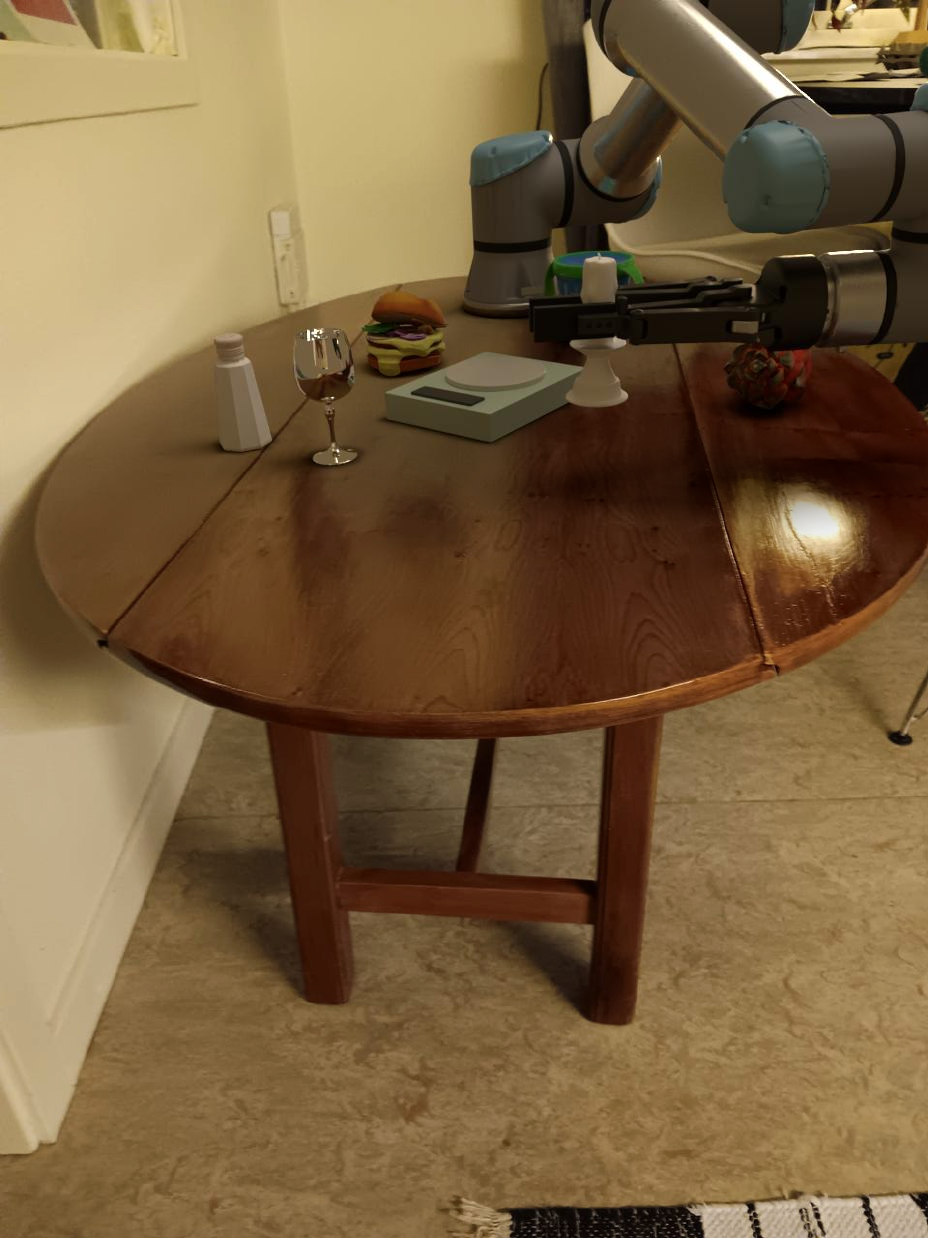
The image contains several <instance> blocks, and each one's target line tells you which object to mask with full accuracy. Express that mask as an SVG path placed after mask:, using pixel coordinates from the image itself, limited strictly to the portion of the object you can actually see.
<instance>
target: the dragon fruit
mask: <svg viewBox="0 0 928 1238" xmlns="http://www.w3.org/2000/svg"><path fill="white" fill-rule="evenodd" d="M812 354H813V353H812V350H811V348H810V349H807V350H794V351H778V352H771V351H768V350H766V349H765V348H764V347H763V345H762V344H761V342H760V340H759V337H758V336H757V342H756V343H752V344H746V343H742V344H740V345H738V346H736V347H735V348H734V349H733V351H732V356H731V357H730V358H729V360H728V361H727V362H726V363H725V365H724V367H723V370H724V372H725V373H726V374H727V375H728V376H727V377H726V379H725V381H726V383H727V386H728V387H729V389H732V390H734V392H735V393H736V394H737V395H738V396H739V397H740V398H742V400H744V401H749V402H750V404H752V405H753V406H755V407H757V408H760V409H763V410H772V409H774V408H775V407H777V406H778V405H779V403H780V402H781V401H783V402H785V403H786V404H787V403H788V404H790V403H791V402H795V403H798V402H799V401H801V399H802V398H803V396H804V395H805V392H806V388H807V387H806V383H807V382H806V381H807V380H808V379H810V377H811V375H812V368H813V359H812V358H813V357H812Z"/></svg>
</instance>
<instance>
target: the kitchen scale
mask: <svg viewBox="0 0 928 1238" xmlns="http://www.w3.org/2000/svg"><path fill="white" fill-rule="evenodd" d="M583 368H584V366H580V365H579V366H578V365H572V364H565V363H560V362H553V361H548V360H541V359H535V358H529V357H522V356H516V355H510V354H505V353H504V354H503V353H498V352H490V351H484V352H481V353H479V354H476V355H474V356H472V357H469V358H466V359H464V360H461V361H459V362H457V363H454V364H451V365H449V366H447V367H443V368H441V369H440V370H437V371H435V372H431V373H430V374H427V375H424V376H422V377H419V378H417V379H414V380H412V381H410V382H407V383H404V384H403V385H399V386H398V387H395V388H393V389H390V390H388V391H385V392H384V398H385V408H386V419H387V420H389V421H393V422H398V423H402V424H407V425H411V426H415V427H421V428H424V429H428V430H432V431H433V430H434V431H438V432H443V433H447V434H451V435H456V436H460V437H464V438H469V439H472V440H478V441H482V442H486V443H487V442H488V443H493V442H495V441H497V440H499V439H501V438H502V437H505V436H506V435H508V434H510V433H513V432H515V431H516V430H518V429H520V428H522V427H524V426H526V425H528V424H529V423H531V422H534V421H535V420H537V419H540V418H542V417H543V416H545V415H547V414H549V413H551V412H553V411H555V410H557V409H559V408H560V407H563V406H565V405H566V404H568V403H570V402H568V401H567V400H566V397H565V396H566V394H567V393H568V392H569V391H571V390H573V386H574V381H575V379H576V378H577V377H579V376H580V374H581V372H582V370H583Z"/></svg>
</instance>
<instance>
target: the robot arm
mask: <svg viewBox="0 0 928 1238" xmlns="http://www.w3.org/2000/svg"><path fill="white" fill-rule="evenodd" d="M590 1H591V2H590V21H591V24H590V25H591V28H592V32H593V36H594V38H595V41H596V43H597V45H598V47H599V49H600V50H601V52H602V54H603V55H604V56H605V58H607V60H608V61H609V62H610V63H611V64H612V65H613V66H614V67H615V68H616V69H617V71H619V72H621V74H624V75H626V76H628V77H631V78H632V79H631V81H630V82H629V84H628V85H627V87H626V88H625V89H624V92H622V94H621V96H620V98H619V99H618V100H617V102H616V103H615V105H614V107H613V108H612V109H611V111H610V113H609V114H606V115H603V116H601V117H599V118H597V119H594V121H593V122H592V123H590V124H589V125H588V126H587V128H586V129H585V130H584V132H583V133H582V135H581V137H580V138H573V139H572V138H571V139H560V140H554V137H553V135H552V132H550V131H549V130H545V129H544V130H542V129H541V130H531V131H525V132H523V131H522V132H517V133H512V134H506V135H503V136H498V137H495V138H492V139H488V140H485V141H483V142H480V143H479V144H477V145H476V146H475V147H474V148H473V149H472V152H471V154H470V162H469V163H470V164H469V165H470V166H469V180H468V185H469V186H470V202H471V203H470V204H471V205H470V206H471V225H472V226H471V227H472V228H471V229H472V244H473V245H472V247H473V249H472V250H473V254H472V256H473V257H472V260H471V263H470V266H469V267H470V268H469V271H468V275H467V279H466V284H465V288H464V291H463V295H462V296H463V297H462V299H463V300H462V301H463V309H464V310H465V311H466V312H468V313H471V314H473V315H476V316H482V317H489V318H490V317H491V318H493V317H494V318H522V317H528V322H529V323H528V330H529V333H533V342H534V344H535V343H552V342H553V343H554V342H567V341H570V342H571V341H572V340H586V339H603V338H614V334H617V336H616V337H617V338H618V339H621V340H625V341H626V340H628V344H629V345H631V346H634V347H635V346H643V345H649V346H650V345H677V344H678V345H679V344H707V343H713V344H714V343H735V344H744V343H746V344H752V343H756V342H757V336H758V337H759V340H760V342H761V344H762V345H763V347H764V348H765V349H766V350H768V351H771V352H778V351H794V350H807V349H810V350H811V348H812V347H813V346H814V347H816V348H817V349H829V348H834V350H835V352H836V353H837V354H845V353H846V352H847V350H848V347H853V346H856V347H858V346H859V347H861V346H874V345H875V346H877V345H897V344H920V343H922V344H923V343H928V81H925V82H924V83H922V84H921V85H920V86H919V87H918V88H917V90H916V91H915V93H914V99H913V102H912V105H911V106H910V107H909V111H900V112H893V113H884V114H876V115H875V114H873V115H862V116H861V115H860V116H847V117H838V116H833V115H831V114H830V113H828V111H826V110H825V109H824V108H823V107H822V106H820V105H819V104H817V103H816V102H815V101H814V100H813V99H811V98H810V96H808V95H807V94H806V93H805V92H803V91H802V90H801V89H800V88H799V87H797V86H796V85H795V84H794V83H793V82H792V81H791V80H790V79H789V78H787V77H786V76H785V74H782V72H780V71H779V70H778V69H777V68H776V67H774V66H773V65H772V64H771V63H770V62H769V61H768V60H767V59H766V58H765V57H763V56H762V55H765V54H773V55H781V54H782V53H784V52H790V51H792V50H793V49H795V48H796V47H797V46H798V45H799V44H800V43H801V42H802V40H803V39H804V37H805V35H806V33H807V31H808V30H809V26H810V24H811V22H812V19H813V18H812V17H813V14H814V10H815V5H816V0H590ZM685 126H686V127H687V128H688V129H689V131H691V132H692V133H693V135H695V137H696V138H698V140H699V141H700V142H701V143H702V144H703V145H704V146H705V147H706V149H708V150H709V152H710V153H711V154H713V156H714V157H715V158H716V159H717V160H718V161H719V162H720V164H722V165H723V167H722V172H721V192H722V193H721V195H722V201H723V203H724V204H726V205H727V215H728V218H729V220H730V222H731V223H732V224H733V225H734V226H735V227H736V228H737V229H738V230H741V231H742V232H744V233H748V234H776V235H785V236H786V235H792V234H796V233H800V232H804V231H812V230H822V229H830V228H838V227H846V226H847V227H848V226H854V225H855V226H856V225H867V224H875V223H877V224H878V223H885V222H892V225H891V231H890V237H891V238H890V239H891V240H890V245H889V248H887V249H881V250H872V249H868V250H867V249H866V250H865V249H864V250H851V251H835V252H822V253H821V254H820V255H818V256H816V255H814V254H796V255H795V254H794V255H781V256H780V255H779V256H774V257H772V258H769V259H768V260H767V261H766V263H765V264H764V265H763V267H762V269H761V271H760V275H759V277H758V279H757V281H756V282H755V283H743V281H744V279H743V278H741V277H723V278H722V279H720V280H718V277H717V276H716V275H712V274H709V275H706V276H701V277H695V278H689V279H679V280H677V279H676V280H666V281H665V280H664V281H656V282H655V281H653V282H644V283H642V284H633V283H631V284H630V283H629V285H618V288H617V291H616V293H615V303H614V302H599V303H583V302H582V300H581V297H580V296H581V294H577V295H561V296H559V294H558V287H557V279H556V276H555V277H554V286H555V292H556V296H544V297H542V294H543V284H544V278H545V274H546V271H547V268H548V267H549V265H550V264H551V263H552V262H553V260H554V259H555V257H554V254H553V230H554V229H565V228H575V227H585V226H586V227H587V226H595V225H605V224H606V225H607V224H614V225H615V224H616V225H619V224H625V223H628V222H631V221H637V220H639V219H642V218H643V217H645V216H646V215H647V214H648V213H649V212H650V211H651V209H652V208H653V207H654V205H655V203H656V201H657V199H658V196H659V194H658V190H659V189H660V188H661V185H662V178H663V165H662V158H661V157H662V153H664V151H665V150H666V149H667V147H668V146H669V145H670V144H671V143H672V142H673V140H674V139H675V138H676V136H677V135H678V134H679V133H680V132H681V130H682V129H683V128H684V127H685Z"/></svg>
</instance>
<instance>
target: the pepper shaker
mask: <svg viewBox="0 0 928 1238" xmlns="http://www.w3.org/2000/svg"><path fill="white" fill-rule="evenodd" d="M243 341H244V336H243V335H242V334H240V333H237V332H227V333H222V334H219V335H217V336H215V337H213V343H214V345H215V350H216V351H215V352H216V354H217V359H218V360H216V361H215V362H213V375H214V376H213V377H214V389H215V400H216V413H217V427H218V439H219V445H221V447H222V448H223V450H224V451H227V452H239V453H244V452H249V451H255V450H260V449H262V448H264V447H265V446H267V445H268V444H270V443H272V440H273V438H272V435H271V432H270V428H269V423H268V419H267V415H266V411H265V408H264V405H263V401H262V397H261V393H260V390H259V385H258V382H257V378H256V375H255V370H254V367H253V364H252V361H251V360H250V359H249V358H248V357H246V356H245V353H244V352H245V349H244V344H243Z"/></svg>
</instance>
